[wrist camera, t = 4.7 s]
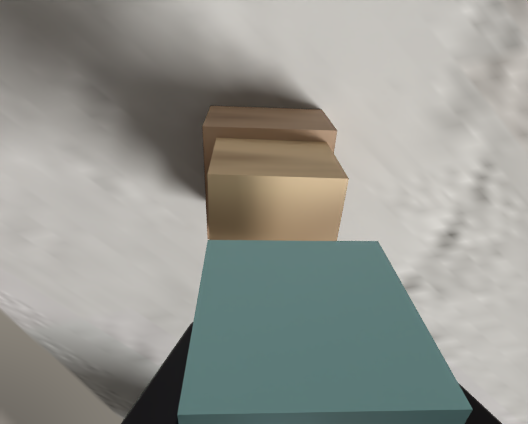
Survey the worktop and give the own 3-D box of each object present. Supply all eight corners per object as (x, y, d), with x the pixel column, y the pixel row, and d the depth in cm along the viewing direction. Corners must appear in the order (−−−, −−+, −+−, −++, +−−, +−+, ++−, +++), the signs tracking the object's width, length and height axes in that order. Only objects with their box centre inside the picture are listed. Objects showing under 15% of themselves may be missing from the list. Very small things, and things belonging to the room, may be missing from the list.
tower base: (309, 204, 22) (320, 240, 19) (214, 202, 22) (207, 238, 18) (321, 108, 19) (337, 130, 16) (210, 104, 19) (202, 126, 15)
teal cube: (350, 352, 11) (403, 528, 8) (214, 354, 11) (195, 536, 7) (377, 241, 9) (473, 410, 5) (207, 240, 9) (176, 414, 5)
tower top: (313, 233, 18) (328, 284, 15) (217, 231, 18) (210, 283, 15) (326, 142, 16) (348, 178, 12) (216, 137, 16) (207, 174, 12)
